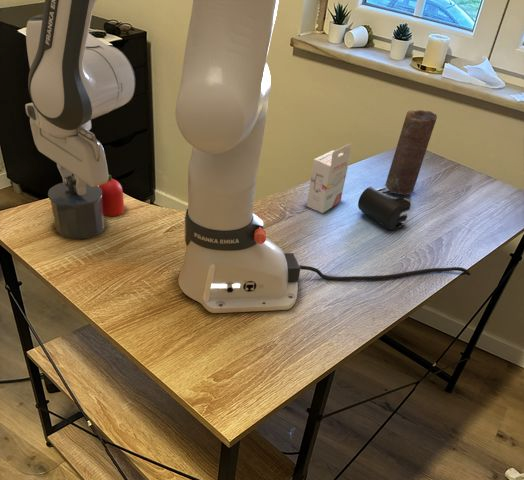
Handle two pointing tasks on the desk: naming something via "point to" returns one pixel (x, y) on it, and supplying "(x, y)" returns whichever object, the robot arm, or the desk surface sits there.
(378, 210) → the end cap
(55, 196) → the pot lid
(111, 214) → the pepper
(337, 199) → the ink cartridge box
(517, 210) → the desk surface
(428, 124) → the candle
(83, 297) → the desk surface
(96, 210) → the pot
